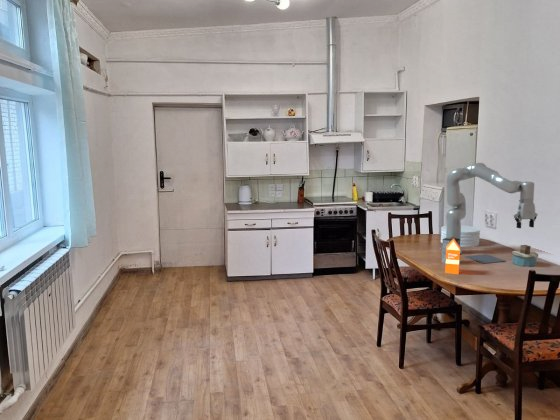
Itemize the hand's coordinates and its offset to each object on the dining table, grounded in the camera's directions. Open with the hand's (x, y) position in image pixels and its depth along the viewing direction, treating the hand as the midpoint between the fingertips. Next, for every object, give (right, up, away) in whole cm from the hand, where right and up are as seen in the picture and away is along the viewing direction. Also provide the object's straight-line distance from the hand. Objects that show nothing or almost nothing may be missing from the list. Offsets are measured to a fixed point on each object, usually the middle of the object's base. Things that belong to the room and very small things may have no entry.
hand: (525, 227), depth 290 cm
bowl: (0, -24, +2) cm, 24 cm away
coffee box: (-46, -23, +7) cm, 52 cm away
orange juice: (-52, -27, -14) cm, 60 cm away
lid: (0, -18, +1) cm, 18 cm away
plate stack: (-17, -15, +63) cm, 67 cm away
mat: (-20, -22, +14) cm, 32 cm away
